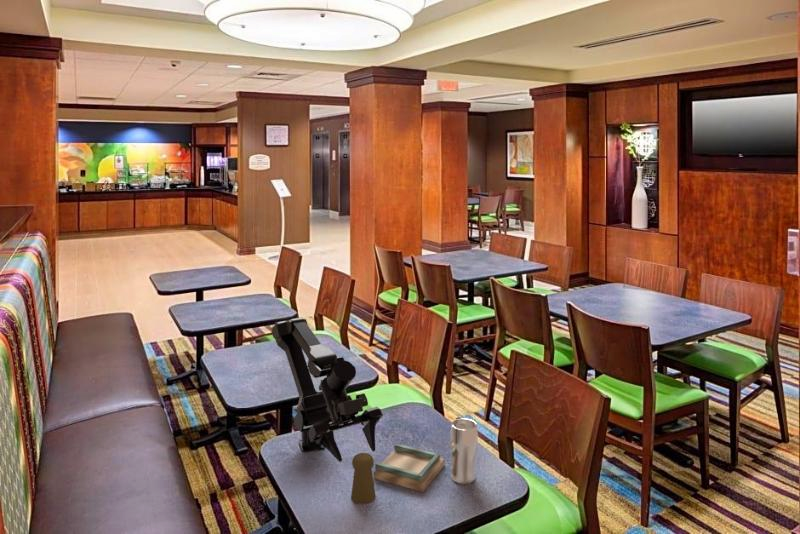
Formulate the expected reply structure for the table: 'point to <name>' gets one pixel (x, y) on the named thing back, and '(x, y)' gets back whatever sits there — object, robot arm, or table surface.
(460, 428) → the silver metal tumbler
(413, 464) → the dock
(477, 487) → the table surface
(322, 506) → the table surface
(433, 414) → the table surface
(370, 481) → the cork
